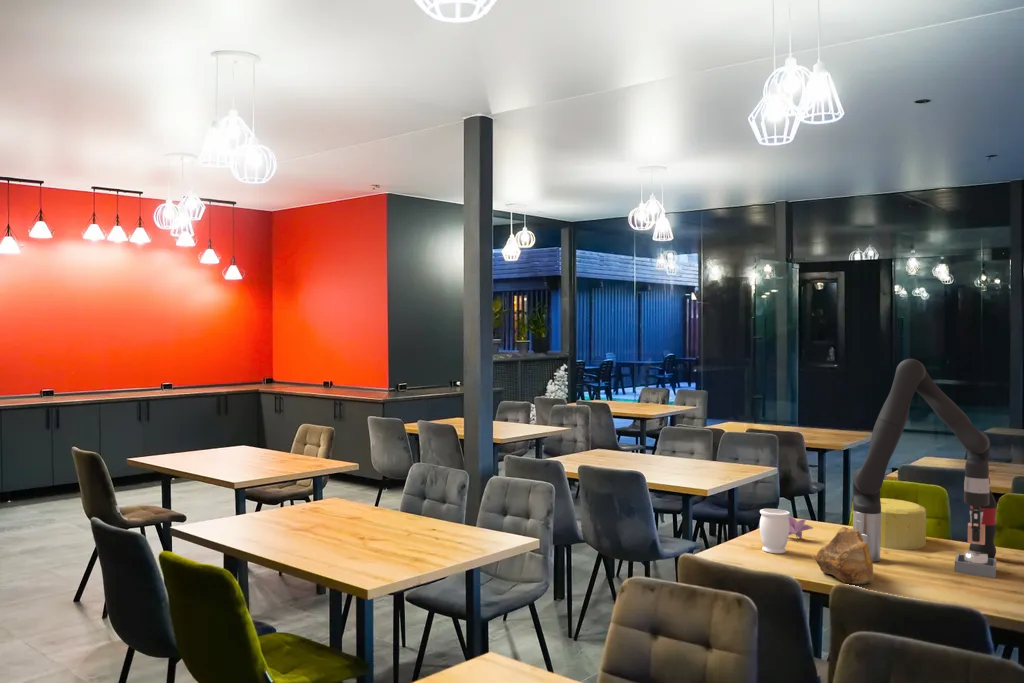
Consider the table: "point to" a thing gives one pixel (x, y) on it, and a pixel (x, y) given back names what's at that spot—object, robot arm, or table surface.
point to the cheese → (902, 524)
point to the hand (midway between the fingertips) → (976, 539)
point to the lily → (797, 527)
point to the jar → (774, 530)
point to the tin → (976, 557)
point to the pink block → (982, 534)
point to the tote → (975, 567)
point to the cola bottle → (988, 528)
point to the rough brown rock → (847, 557)
